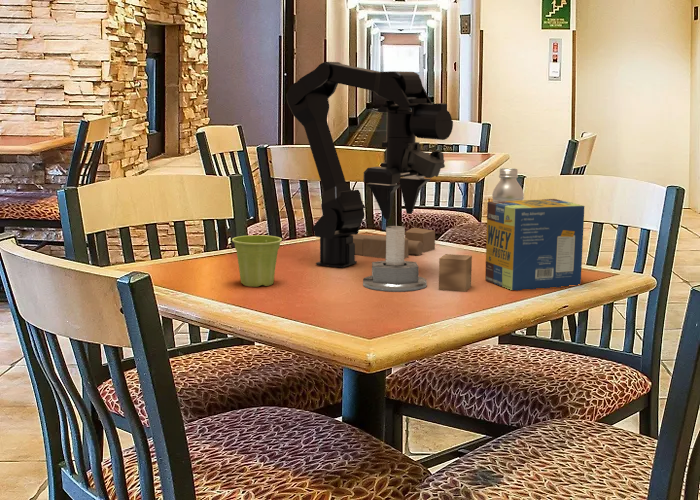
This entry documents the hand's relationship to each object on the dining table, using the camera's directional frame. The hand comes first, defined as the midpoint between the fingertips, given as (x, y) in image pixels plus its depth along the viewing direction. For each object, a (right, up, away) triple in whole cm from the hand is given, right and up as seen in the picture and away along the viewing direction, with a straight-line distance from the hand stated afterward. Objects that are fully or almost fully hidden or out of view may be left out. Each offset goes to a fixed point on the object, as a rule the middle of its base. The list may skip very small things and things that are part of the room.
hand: (398, 216), depth 196 cm
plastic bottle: (+24, -10, +15) cm, 30 cm away
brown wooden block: (+10, -14, -11) cm, 20 cm away
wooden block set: (-1, -8, +30) cm, 31 cm away
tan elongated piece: (-1, -12, -9) cm, 15 cm away
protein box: (+25, -13, -6) cm, 29 cm away
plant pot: (-27, -13, -8) cm, 31 cm away
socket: (-1, -13, -8) cm, 16 cm away
